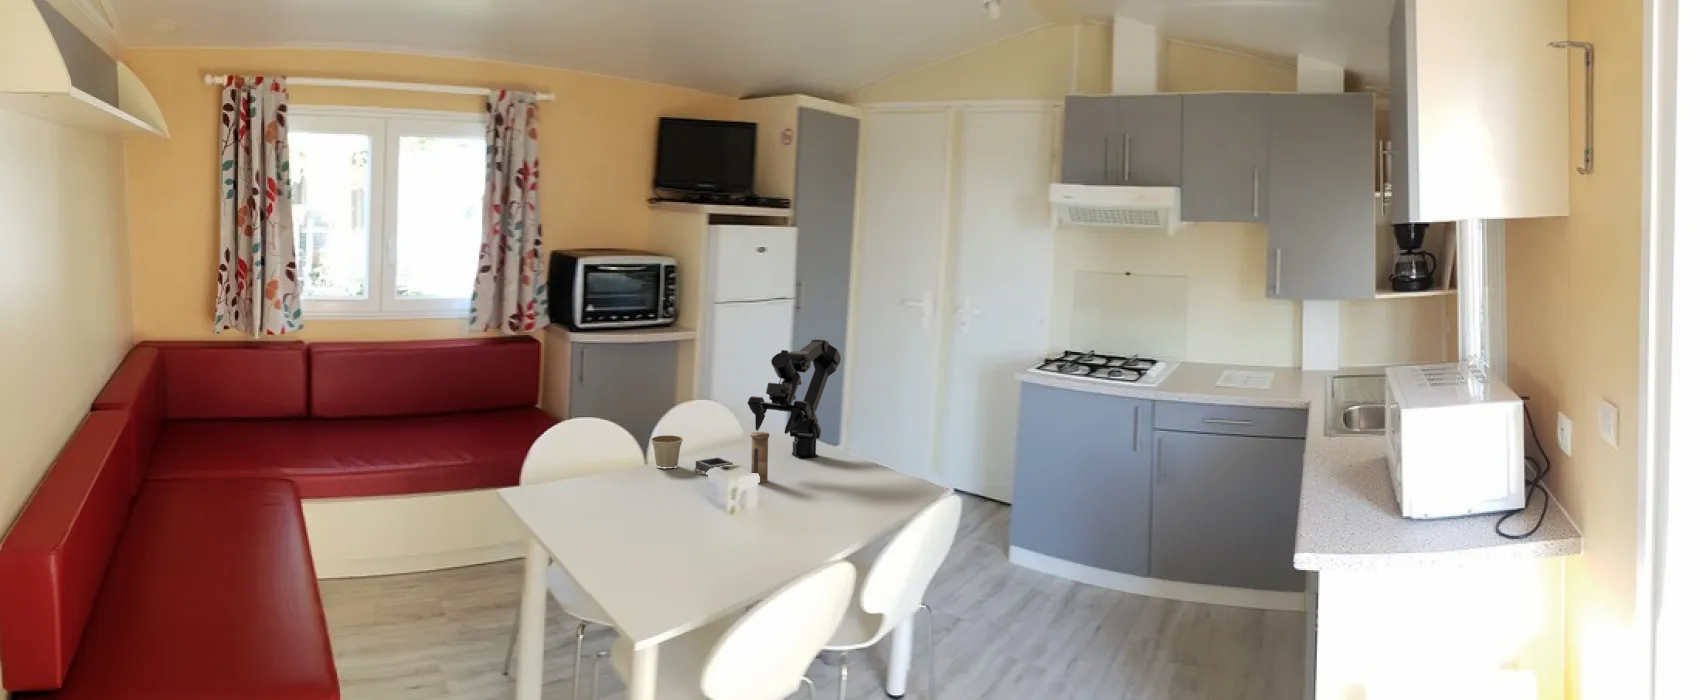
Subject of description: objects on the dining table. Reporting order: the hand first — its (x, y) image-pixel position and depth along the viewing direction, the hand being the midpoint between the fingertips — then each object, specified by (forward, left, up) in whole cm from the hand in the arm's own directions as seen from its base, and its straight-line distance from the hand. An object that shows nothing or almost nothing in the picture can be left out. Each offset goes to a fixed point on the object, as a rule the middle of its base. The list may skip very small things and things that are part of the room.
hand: (770, 431), depth 297 cm
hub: (+13, -11, -13) cm, 21 cm away
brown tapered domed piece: (+6, +5, -13) cm, 15 cm away
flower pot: (+24, -21, -13) cm, 34 cm away
